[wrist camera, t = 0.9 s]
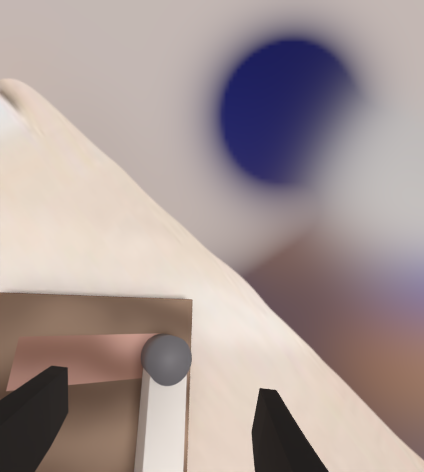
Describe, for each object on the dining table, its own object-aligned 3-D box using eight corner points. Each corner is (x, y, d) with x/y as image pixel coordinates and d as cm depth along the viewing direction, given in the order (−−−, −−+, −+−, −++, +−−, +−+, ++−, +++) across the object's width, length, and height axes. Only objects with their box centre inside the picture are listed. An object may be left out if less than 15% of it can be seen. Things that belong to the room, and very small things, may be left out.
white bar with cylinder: (142, 333, 22) (150, 336, 19) (180, 333, 23) (192, 335, 21) (125, 518, 18) (132, 556, 15) (172, 503, 19) (186, 535, 17)
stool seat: (178, 483, 22) (186, 498, 20) (-64, 552, 15) (-84, 584, 13) (186, 300, 27) (192, 299, 25) (6, 294, 20) (-3, 292, 18)
